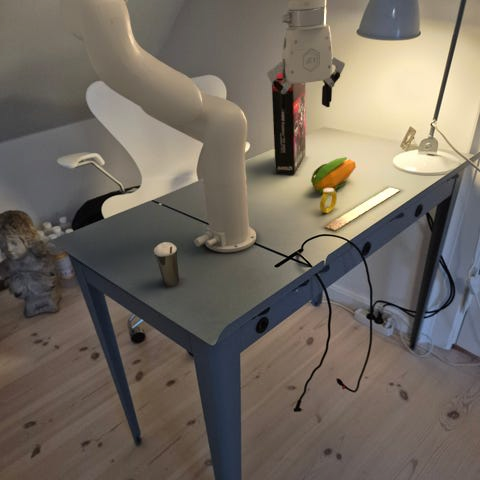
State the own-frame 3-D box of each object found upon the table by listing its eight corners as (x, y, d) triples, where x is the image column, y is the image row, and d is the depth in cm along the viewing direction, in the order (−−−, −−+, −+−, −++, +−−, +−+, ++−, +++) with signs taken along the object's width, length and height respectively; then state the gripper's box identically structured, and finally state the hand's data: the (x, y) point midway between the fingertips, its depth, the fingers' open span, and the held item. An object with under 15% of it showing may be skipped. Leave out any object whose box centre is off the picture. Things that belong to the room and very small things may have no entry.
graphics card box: (294, 175, 139) (295, 77, 122) (273, 174, 141) (270, 78, 124) (305, 157, 152) (307, 65, 135) (285, 156, 154) (285, 66, 137)
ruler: (335, 231, 109) (335, 230, 109) (324, 227, 111) (324, 226, 111) (399, 191, 125) (399, 190, 125) (389, 188, 127) (389, 187, 127)
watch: (329, 205, 121) (330, 184, 117) (338, 208, 119) (340, 186, 116) (317, 214, 117) (317, 192, 114) (326, 216, 116) (327, 194, 112)
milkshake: (169, 292, 94) (160, 250, 87) (157, 282, 97) (148, 240, 91) (188, 284, 95) (181, 242, 89) (175, 274, 99) (168, 233, 93)
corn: (305, 167, 123) (344, 146, 134) (302, 193, 128) (340, 171, 139) (328, 174, 119) (366, 152, 130) (324, 201, 124) (362, 177, 135)
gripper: (271, 25, 87) (274, 118, 98) (354, 15, 90) (348, 107, 101) (261, 22, 93) (264, 110, 104) (339, 13, 96) (334, 100, 106)
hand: (305, 108), depth 102 cm, fingers open, 9 cm apart
